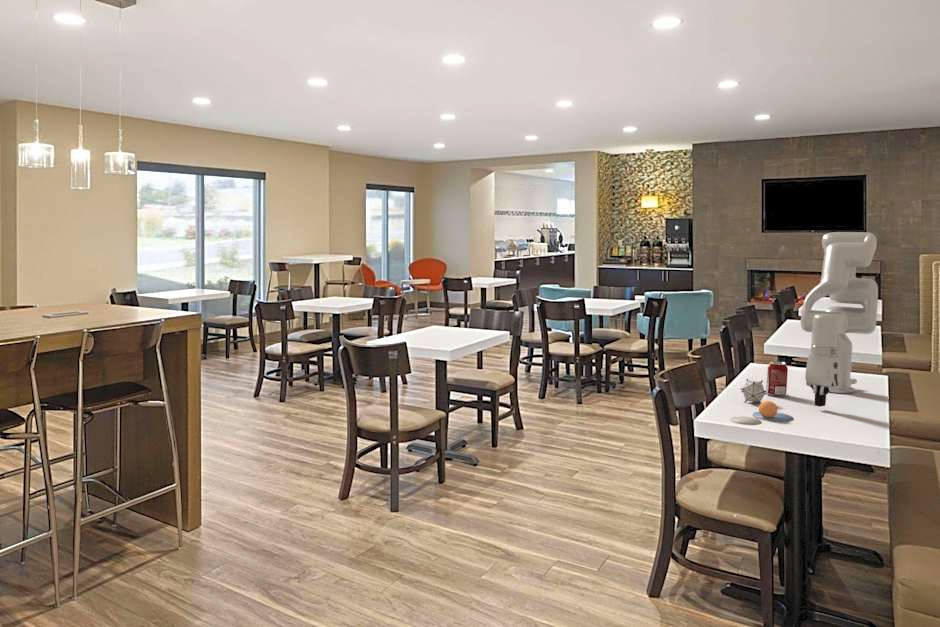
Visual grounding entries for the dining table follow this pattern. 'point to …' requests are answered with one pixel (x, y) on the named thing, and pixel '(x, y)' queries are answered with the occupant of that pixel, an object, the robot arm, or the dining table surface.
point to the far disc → (746, 420)
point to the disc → (777, 417)
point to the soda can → (776, 378)
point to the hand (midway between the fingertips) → (819, 405)
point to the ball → (768, 409)
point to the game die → (753, 391)
